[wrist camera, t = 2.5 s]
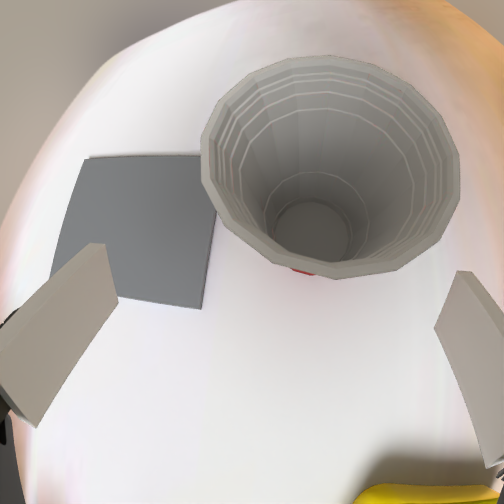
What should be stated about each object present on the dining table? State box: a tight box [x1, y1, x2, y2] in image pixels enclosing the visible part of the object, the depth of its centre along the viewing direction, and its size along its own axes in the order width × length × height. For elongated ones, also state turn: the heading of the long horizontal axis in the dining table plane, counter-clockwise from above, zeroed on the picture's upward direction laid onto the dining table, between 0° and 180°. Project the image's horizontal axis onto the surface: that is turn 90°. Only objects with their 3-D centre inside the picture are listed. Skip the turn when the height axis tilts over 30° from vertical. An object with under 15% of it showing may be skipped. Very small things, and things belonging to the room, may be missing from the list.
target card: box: [49, 156, 217, 310], centre depth 23 cm, size 14×12×1 cm
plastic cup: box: [201, 55, 460, 280], centre depth 16 cm, size 11×11×12 cm
